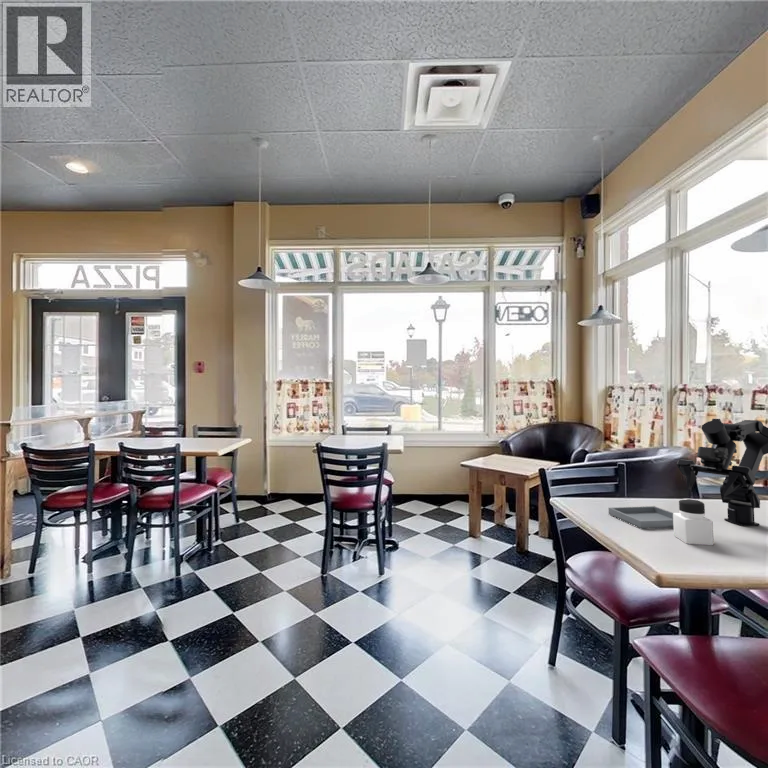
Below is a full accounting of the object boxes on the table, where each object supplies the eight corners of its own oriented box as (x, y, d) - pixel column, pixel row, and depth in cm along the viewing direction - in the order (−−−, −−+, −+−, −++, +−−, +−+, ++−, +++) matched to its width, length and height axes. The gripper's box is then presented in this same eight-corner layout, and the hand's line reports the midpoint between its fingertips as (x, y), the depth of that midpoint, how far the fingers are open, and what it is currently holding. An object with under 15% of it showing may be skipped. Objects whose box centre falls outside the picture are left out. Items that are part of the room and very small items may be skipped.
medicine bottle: (714, 545, 111) (712, 503, 112) (686, 544, 113) (684, 502, 113) (699, 537, 118) (697, 497, 119) (673, 535, 120) (671, 496, 120)
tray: (654, 512, 143) (654, 506, 143) (692, 527, 127) (691, 519, 127) (608, 514, 142) (608, 507, 142) (640, 529, 126) (640, 521, 126)
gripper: (678, 435, 131) (661, 470, 126) (749, 440, 115) (733, 481, 109) (691, 456, 135) (675, 492, 129) (761, 464, 118) (747, 505, 113)
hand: (705, 492), depth 120 cm, fingers open, 9 cm apart
